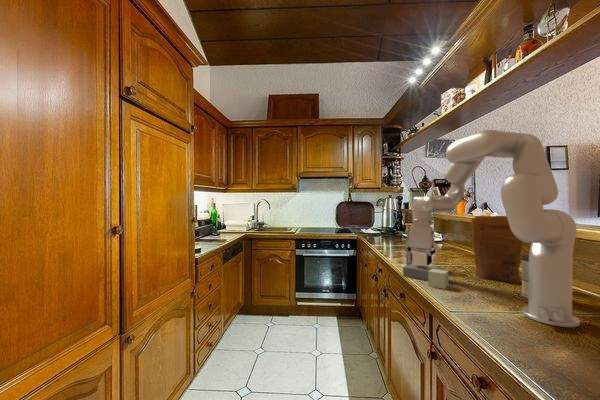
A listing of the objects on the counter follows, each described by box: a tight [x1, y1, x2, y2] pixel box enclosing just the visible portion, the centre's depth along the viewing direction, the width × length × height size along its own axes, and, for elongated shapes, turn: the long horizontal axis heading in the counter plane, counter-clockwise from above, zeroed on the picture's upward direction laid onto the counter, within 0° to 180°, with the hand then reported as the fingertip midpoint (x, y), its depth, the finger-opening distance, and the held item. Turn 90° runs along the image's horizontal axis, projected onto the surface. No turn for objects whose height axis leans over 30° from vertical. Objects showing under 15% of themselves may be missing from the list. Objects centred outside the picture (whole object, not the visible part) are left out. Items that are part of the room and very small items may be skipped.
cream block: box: [412, 250, 428, 266], centre depth 128 cm, size 6×6×6 cm
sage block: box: [427, 268, 449, 290], centre depth 113 cm, size 6×6×6 cm
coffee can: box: [520, 254, 529, 299], centre depth 100 cm, size 10×10×14 cm
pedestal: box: [402, 263, 440, 282], centre depth 128 cm, size 12×12×4 cm
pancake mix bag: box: [470, 215, 524, 284], centre depth 123 cm, size 7×19×28 cm, turn 50°
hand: (421, 262), depth 127 cm, fingers closed on cream block, 5 cm apart
